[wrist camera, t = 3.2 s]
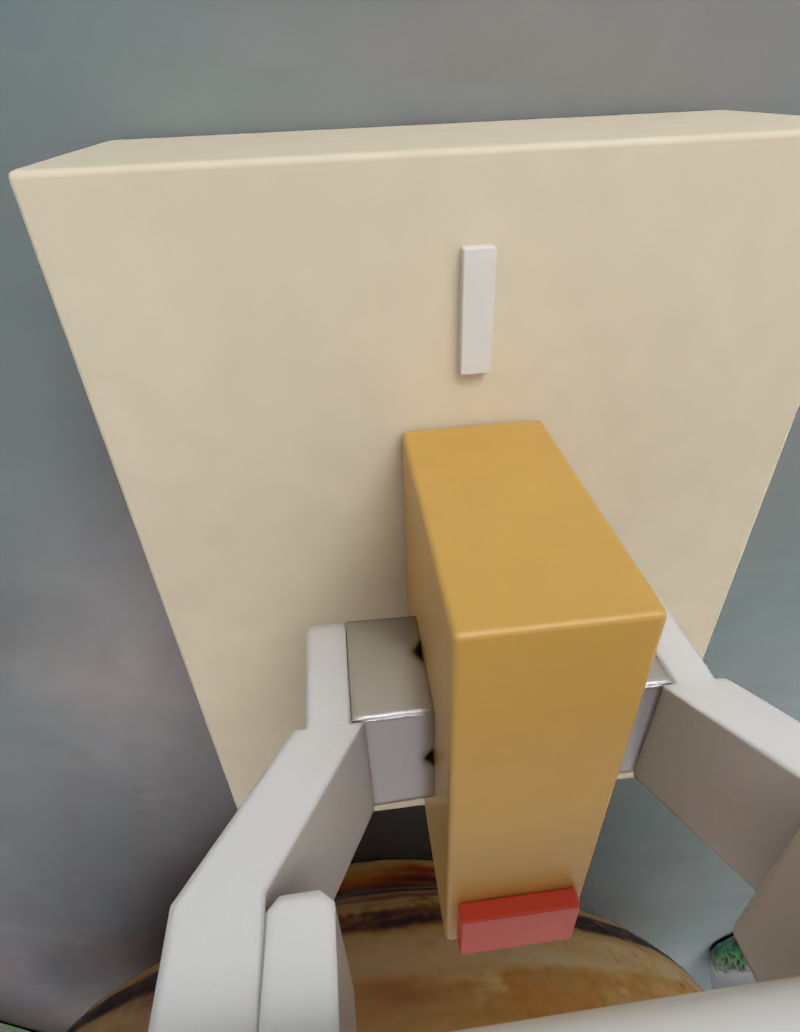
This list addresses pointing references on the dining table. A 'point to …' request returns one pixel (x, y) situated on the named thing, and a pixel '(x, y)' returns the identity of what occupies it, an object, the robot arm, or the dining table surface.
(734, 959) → the decorative ornament
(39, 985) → the dining table surface
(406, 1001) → the ceramic bowl
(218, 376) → the plate
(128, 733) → the dining table surface
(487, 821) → the lock knob
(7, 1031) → the tray
